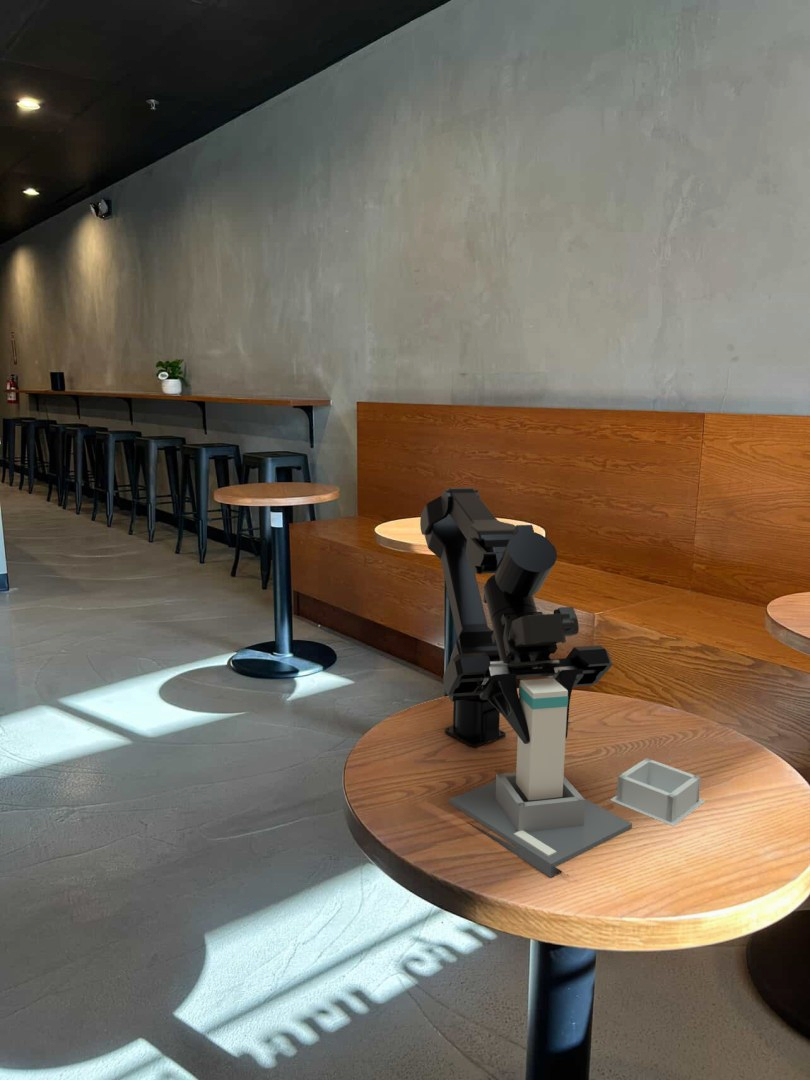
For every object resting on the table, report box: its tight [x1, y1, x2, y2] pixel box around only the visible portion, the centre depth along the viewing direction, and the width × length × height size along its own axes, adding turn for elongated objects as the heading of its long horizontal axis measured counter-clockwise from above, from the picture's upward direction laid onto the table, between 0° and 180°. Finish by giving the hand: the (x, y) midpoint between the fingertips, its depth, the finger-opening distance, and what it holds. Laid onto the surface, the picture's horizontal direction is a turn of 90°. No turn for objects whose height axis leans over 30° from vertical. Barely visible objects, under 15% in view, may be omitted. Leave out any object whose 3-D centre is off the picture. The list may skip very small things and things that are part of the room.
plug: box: [515, 677, 568, 801], centre depth 86 cm, size 4×4×12 cm
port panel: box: [448, 771, 633, 878], centre depth 87 cm, size 16×13×4 cm
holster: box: [609, 757, 706, 827], centre depth 91 cm, size 8×8×4 cm
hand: (545, 740), depth 84 cm, fingers closed on plug, 4 cm apart
